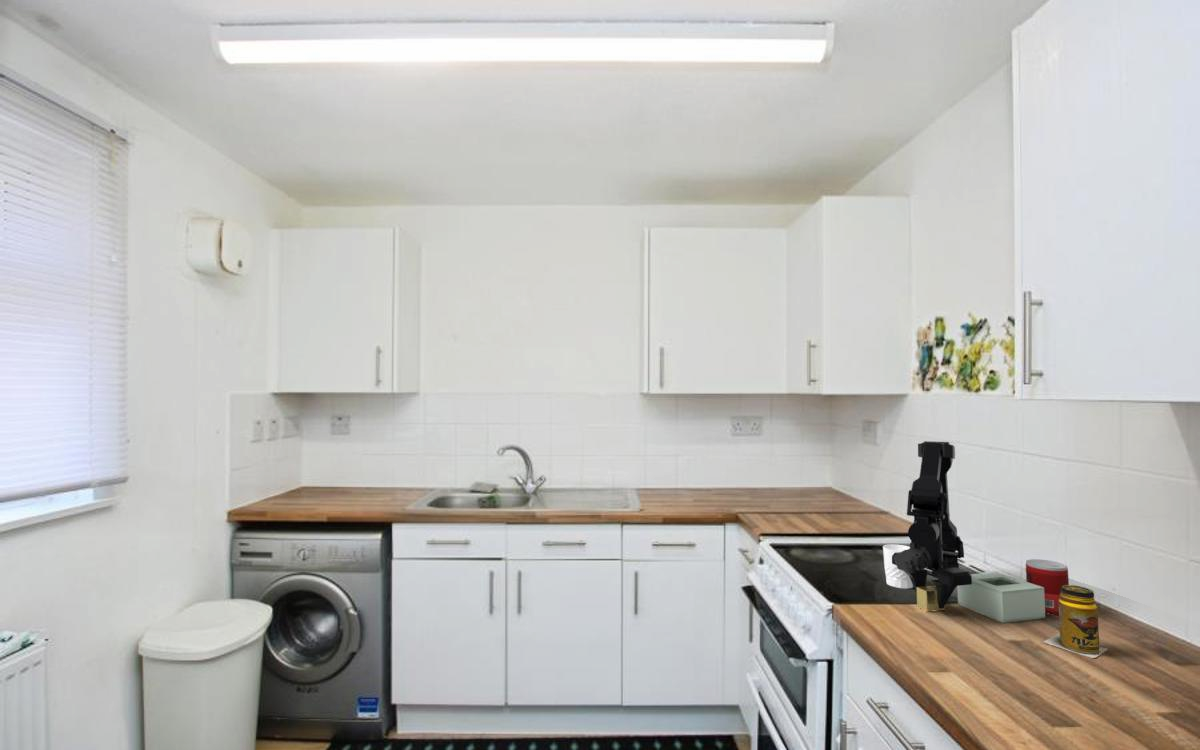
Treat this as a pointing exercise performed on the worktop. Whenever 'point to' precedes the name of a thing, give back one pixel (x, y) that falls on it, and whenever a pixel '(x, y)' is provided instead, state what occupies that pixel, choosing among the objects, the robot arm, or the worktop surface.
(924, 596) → the yellow block
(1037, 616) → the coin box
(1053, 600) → the canned food
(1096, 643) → the condiment
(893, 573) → the white cup
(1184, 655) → the worktop surface
